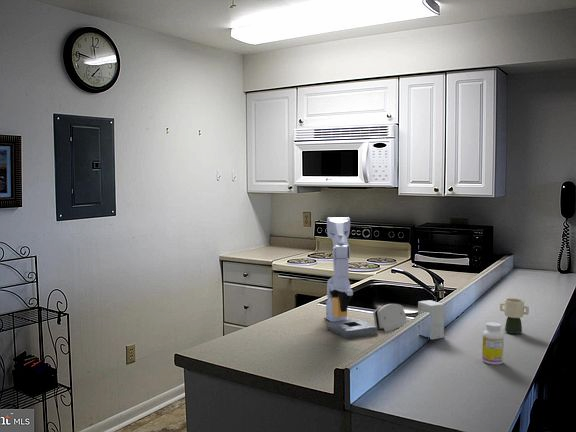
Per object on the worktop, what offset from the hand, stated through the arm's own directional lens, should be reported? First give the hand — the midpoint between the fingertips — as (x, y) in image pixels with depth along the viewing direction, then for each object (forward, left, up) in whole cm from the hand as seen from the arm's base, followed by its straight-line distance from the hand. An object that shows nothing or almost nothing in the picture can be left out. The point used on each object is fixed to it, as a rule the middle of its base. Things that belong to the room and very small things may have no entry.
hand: (340, 310), depth 217 cm
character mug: (+31, +60, -9) cm, 68 cm away
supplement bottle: (+52, +27, -9) cm, 59 cm away
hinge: (+1, +23, -9) cm, 25 cm away
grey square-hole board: (+2, +4, -9) cm, 10 cm away
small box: (+20, +28, -9) cm, 36 cm away
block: (0, 0, -2) cm, 2 cm away
